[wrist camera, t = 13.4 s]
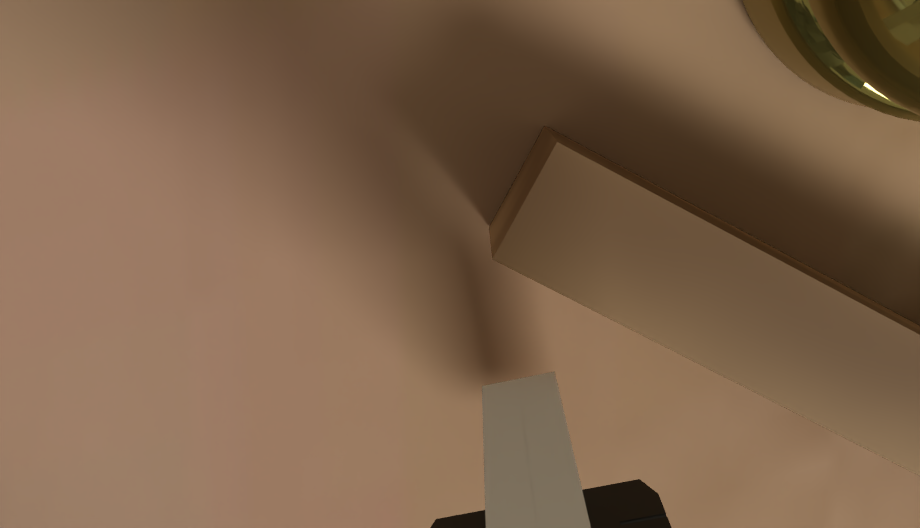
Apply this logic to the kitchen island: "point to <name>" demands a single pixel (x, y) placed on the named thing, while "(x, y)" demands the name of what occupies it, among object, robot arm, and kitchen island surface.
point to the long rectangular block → (713, 295)
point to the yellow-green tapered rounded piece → (848, 48)
